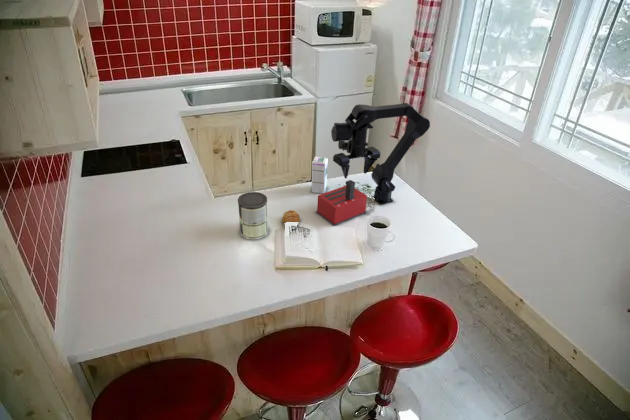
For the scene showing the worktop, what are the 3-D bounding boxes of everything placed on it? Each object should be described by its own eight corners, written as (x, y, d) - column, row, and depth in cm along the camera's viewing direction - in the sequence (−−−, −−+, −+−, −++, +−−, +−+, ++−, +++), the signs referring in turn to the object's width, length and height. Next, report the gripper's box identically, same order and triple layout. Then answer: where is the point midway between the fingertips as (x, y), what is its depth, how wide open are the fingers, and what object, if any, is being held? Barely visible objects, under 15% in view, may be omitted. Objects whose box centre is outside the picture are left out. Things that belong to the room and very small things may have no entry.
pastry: (301, 230, 163) (301, 222, 161) (283, 231, 163) (283, 223, 161) (299, 217, 171) (299, 208, 169) (281, 218, 171) (281, 209, 168)
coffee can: (234, 231, 162) (231, 198, 154) (256, 220, 168) (255, 188, 161) (251, 243, 156) (249, 210, 148) (273, 232, 162) (273, 199, 155)
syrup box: (324, 193, 187) (325, 163, 180) (310, 192, 188) (311, 161, 180) (326, 187, 192) (328, 157, 184) (313, 185, 193) (314, 155, 185)
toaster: (347, 200, 183) (349, 183, 179) (366, 213, 176) (368, 195, 171) (316, 212, 175) (317, 195, 170) (334, 225, 167) (335, 207, 163)
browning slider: (349, 195, 170) (350, 179, 167) (353, 198, 168) (355, 182, 165) (344, 197, 169) (345, 181, 165) (348, 200, 167) (350, 184, 163)
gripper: (366, 128, 176) (363, 163, 184) (326, 135, 168) (324, 171, 176) (383, 138, 168) (378, 174, 176) (342, 146, 160) (339, 183, 168)
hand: (355, 175), depth 174 cm, fingers open, 9 cm apart
